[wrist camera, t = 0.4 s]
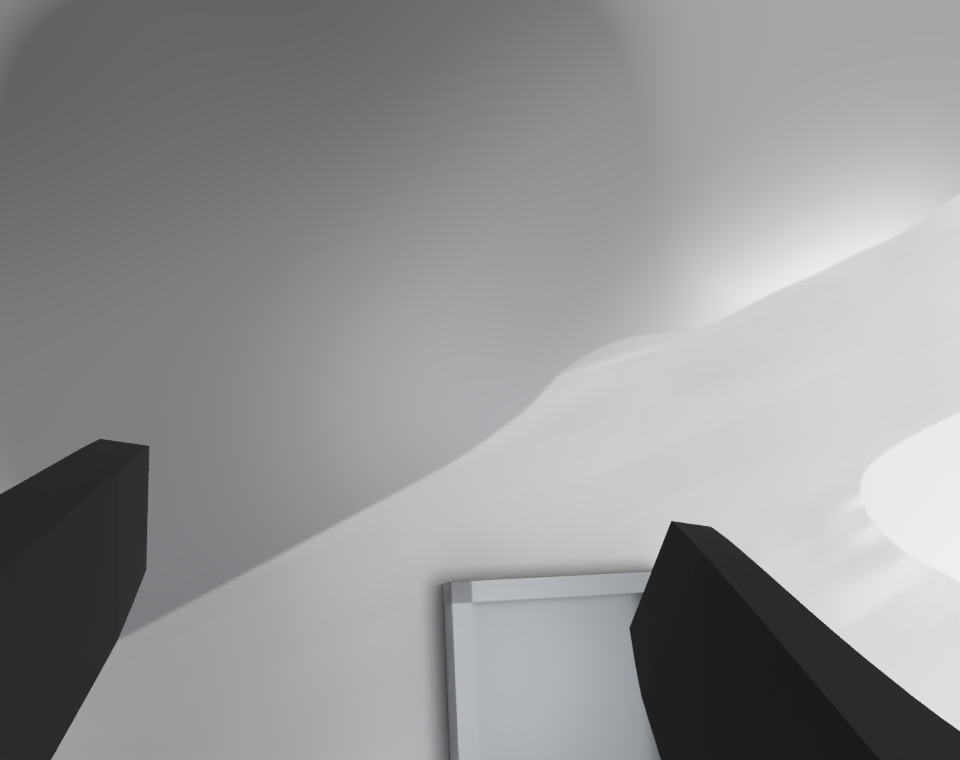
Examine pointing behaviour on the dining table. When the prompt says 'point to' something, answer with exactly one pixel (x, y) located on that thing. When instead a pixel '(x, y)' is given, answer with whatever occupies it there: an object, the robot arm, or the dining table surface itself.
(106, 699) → the dining table surface
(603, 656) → the tray
